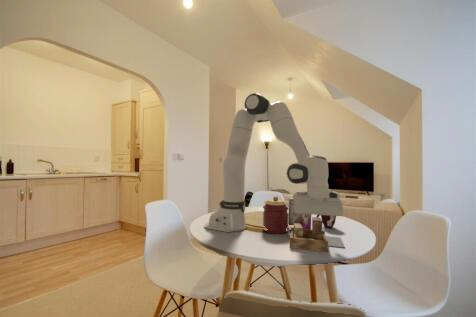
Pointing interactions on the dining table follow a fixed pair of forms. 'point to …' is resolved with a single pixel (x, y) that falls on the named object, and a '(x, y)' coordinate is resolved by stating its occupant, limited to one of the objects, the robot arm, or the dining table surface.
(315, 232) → the tall brown cardboard box
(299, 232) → the offcut top
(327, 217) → the mug
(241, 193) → the robot arm
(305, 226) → the candy bar box
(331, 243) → the felt pad
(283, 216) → the canister
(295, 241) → the rack
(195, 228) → the dining table surface
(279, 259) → the dining table surface
